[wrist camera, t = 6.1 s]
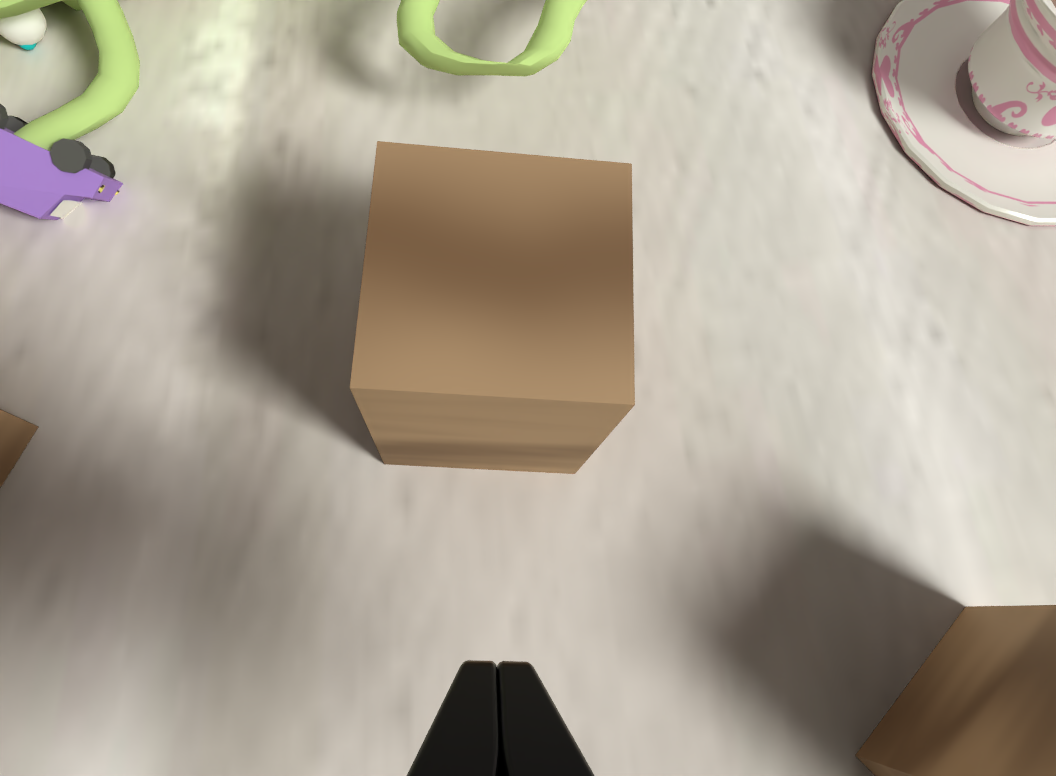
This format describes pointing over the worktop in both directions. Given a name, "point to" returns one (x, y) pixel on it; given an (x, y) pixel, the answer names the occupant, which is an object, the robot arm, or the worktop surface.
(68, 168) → the figurine
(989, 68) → the teacup
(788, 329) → the worktop surface
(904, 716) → the striped block
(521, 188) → the plain block
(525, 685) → the robot arm
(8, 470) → the striped block
